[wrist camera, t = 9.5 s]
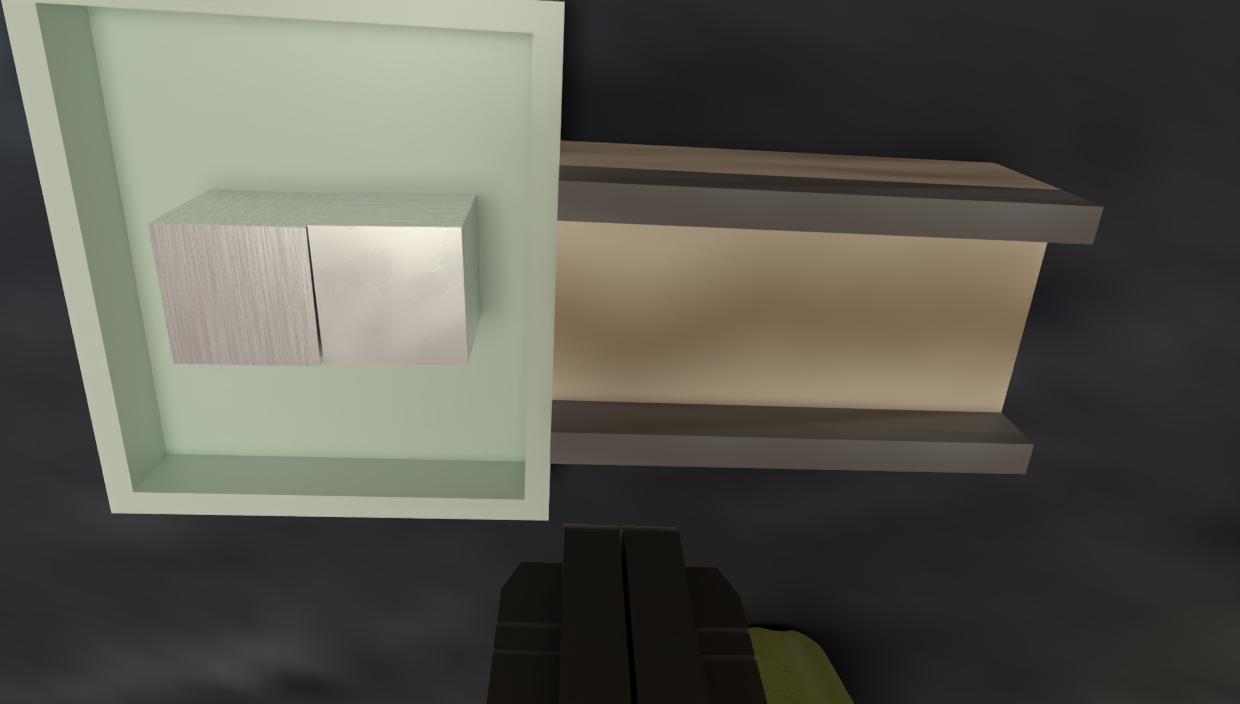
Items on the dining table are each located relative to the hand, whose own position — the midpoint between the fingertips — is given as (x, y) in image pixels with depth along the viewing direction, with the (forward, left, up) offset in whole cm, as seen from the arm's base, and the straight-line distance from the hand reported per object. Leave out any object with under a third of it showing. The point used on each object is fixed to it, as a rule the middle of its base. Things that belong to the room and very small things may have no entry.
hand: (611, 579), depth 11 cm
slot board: (+1, +6, -17) cm, 19 cm away
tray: (+1, -8, -17) cm, 19 cm away
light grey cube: (+1, -5, -17) cm, 18 cm away
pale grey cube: (+1, -7, -15) cm, 17 cm away
